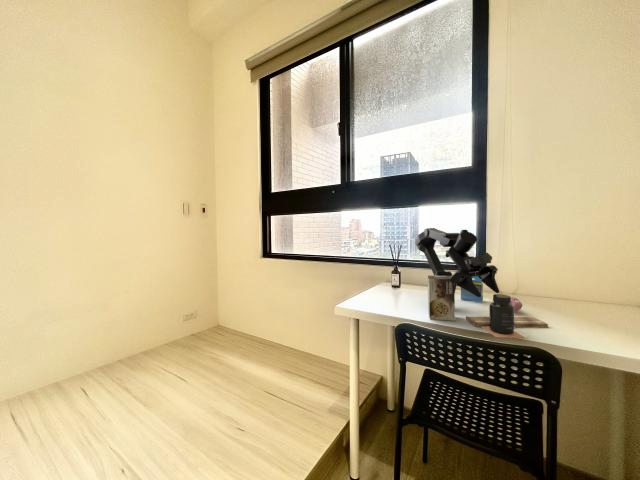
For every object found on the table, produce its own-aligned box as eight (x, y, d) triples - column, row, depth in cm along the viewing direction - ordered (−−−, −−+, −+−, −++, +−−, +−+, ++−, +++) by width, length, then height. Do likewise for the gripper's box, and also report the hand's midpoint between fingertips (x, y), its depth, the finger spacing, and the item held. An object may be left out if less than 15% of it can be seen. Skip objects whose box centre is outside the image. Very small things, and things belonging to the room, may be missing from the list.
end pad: (496, 337, 83) (496, 336, 83) (481, 327, 91) (481, 326, 91) (524, 337, 82) (524, 337, 82) (507, 327, 90) (507, 326, 90)
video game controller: (518, 319, 102) (527, 303, 101) (506, 313, 103) (515, 298, 102) (505, 310, 112) (513, 296, 111) (494, 306, 112) (502, 291, 112)
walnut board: (474, 326, 92) (474, 322, 92) (465, 319, 99) (465, 316, 99) (547, 327, 89) (547, 323, 89) (533, 320, 96) (533, 316, 96)
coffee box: (452, 315, 103) (452, 275, 102) (455, 321, 97) (455, 278, 96) (427, 313, 106) (427, 274, 105) (428, 319, 100) (428, 277, 99)
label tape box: (483, 301, 121) (483, 275, 121) (481, 303, 118) (481, 276, 118) (462, 298, 127) (462, 273, 126) (460, 300, 124) (460, 274, 123)
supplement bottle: (484, 327, 90) (484, 293, 89) (503, 326, 90) (503, 292, 90) (499, 335, 83) (499, 299, 82) (519, 334, 83) (520, 298, 83)
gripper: (456, 248, 90) (486, 286, 81) (493, 243, 97) (524, 278, 88) (438, 266, 98) (464, 303, 89) (473, 261, 105) (501, 295, 96)
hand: (489, 294), depth 90 cm, fingers open, 9 cm apart
